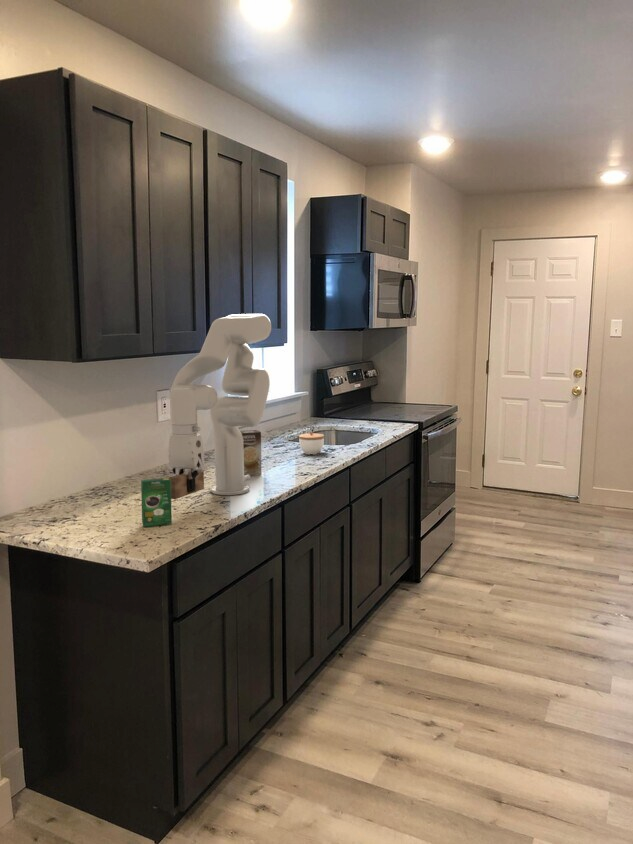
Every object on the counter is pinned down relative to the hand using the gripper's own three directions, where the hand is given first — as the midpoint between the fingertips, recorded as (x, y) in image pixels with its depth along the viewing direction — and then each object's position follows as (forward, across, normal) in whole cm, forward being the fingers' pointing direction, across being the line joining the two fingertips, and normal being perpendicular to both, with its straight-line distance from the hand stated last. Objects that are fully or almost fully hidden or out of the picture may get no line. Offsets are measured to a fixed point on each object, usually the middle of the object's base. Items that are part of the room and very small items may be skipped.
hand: (186, 490), depth 201 cm
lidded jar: (+6, +6, -95) cm, 95 cm away
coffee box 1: (+7, 0, +14) cm, 15 cm away
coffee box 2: (+6, +10, -50) cm, 52 cm away
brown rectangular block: (+1, 0, 0) cm, 1 cm away
